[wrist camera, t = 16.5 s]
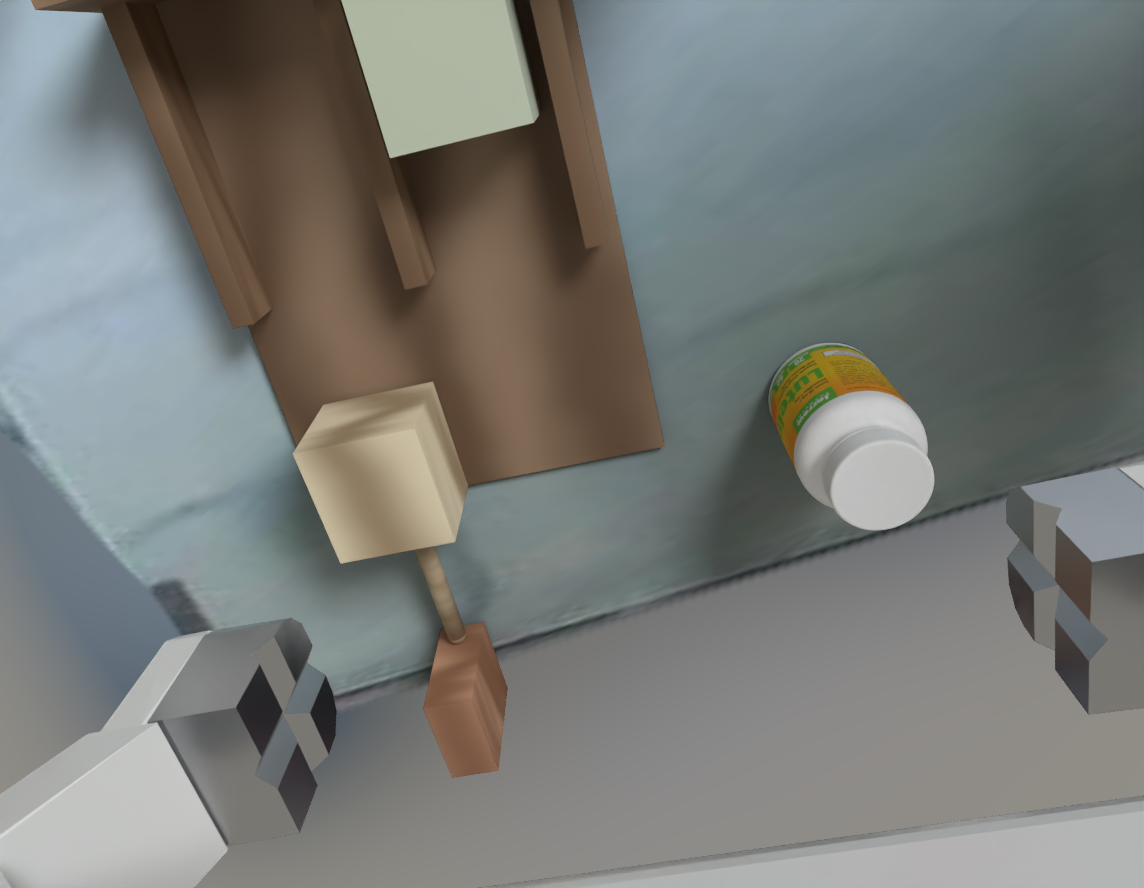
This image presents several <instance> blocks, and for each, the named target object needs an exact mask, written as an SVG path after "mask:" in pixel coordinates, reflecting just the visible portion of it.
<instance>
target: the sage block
mask: <svg viewBox="0 0 1144 888" xmlns="http://www.w3.org/2000/svg"><path fill="white" fill-rule="evenodd" d="M341 1H342V4H343V7H344V10H345V14H346V17H347V20H348V23H349V27H350V30H351V33H352V36H353V40H354V43H355V46H356V49H357V53H358V56H359V59H360V62H361V66H362V69H363V72H364V76H365V79H366V82H367V85H368V89H369V92H370V95H371V98H372V102H373V105H374V108H375V111H376V115H377V118H378V121H379V124H380V128H381V131H382V134H383V137H384V141H385V144H386V147H387V150H388V154H389V157H390V158H393V157H397V156H401V155H405V154H409V153H413V152H417V151H421V150H426V149H430V148H434V147H438V146H442V145H446V144H450V143H454V142H458V141H462V140H466V139H470V138H474V137H478V136H482V135H486V134H490V133H494V132H498V131H503V130H507V129H511V128H515V127H519V126H523V125H527V124H531V123H534V122H535V120H536V119H537V117H538V116H539V115H540V113H541V108H540V103H539V99H538V95H537V91H536V86H535V82H534V78H533V73H532V69H531V65H530V60H529V56H528V52H527V47H526V43H525V39H524V34H523V30H522V26H521V22H520V17H519V13H518V9H517V4H516V0H341Z"/></svg>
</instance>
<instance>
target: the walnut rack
mask: <svg viewBox="0 0 1144 888" xmlns="http://www.w3.org/2000/svg"><path fill="white" fill-rule="evenodd" d="M31 1H32V3H33V6H34V8H35V10H50V11H72V12H95V13H103V15H104V17H105V20H106V22H107V25H108V27H109V30H110V32H111V34H112V37H113V39H114V42H115V44H116V46H117V49H118V51H119V54H120V56H121V59H122V61H123V63H124V66H125V68H126V71H127V73H128V75H129V78H130V80H131V83H132V85H133V88H134V90H135V92H136V95H137V97H138V100H139V102H140V104H141V107H142V109H143V112H144V114H145V117H146V119H147V121H148V124H149V126H150V129H151V131H152V133H153V136H154V138H155V141H156V143H157V146H158V148H159V150H160V153H161V155H162V158H163V160H164V162H165V165H166V167H167V170H168V172H169V175H170V177H171V179H172V182H173V184H174V187H175V189H176V192H177V194H178V196H179V199H180V201H181V204H182V206H183V208H184V211H185V213H186V216H187V218H188V221H189V223H190V225H191V228H192V230H193V233H194V235H195V237H196V240H197V242H198V245H199V247H200V250H201V252H202V254H203V257H204V259H205V262H206V264H207V266H208V269H209V271H210V274H211V276H212V279H213V281H214V283H215V286H216V288H217V291H218V293H219V295H220V298H221V300H222V303H223V305H224V308H225V310H226V312H227V315H228V317H229V320H230V322H231V324H232V327H233V329H234V328H239V327H243V326H248V327H249V329H250V332H251V334H252V337H253V339H254V342H255V344H256V347H257V349H258V351H259V354H260V356H261V359H262V361H263V364H264V366H265V369H266V371H267V374H268V376H269V379H270V381H271V384H272V386H273V388H274V391H275V393H276V396H277V398H278V401H279V403H280V406H281V408H282V411H283V413H284V416H285V418H286V421H287V423H288V425H289V428H290V430H291V433H292V435H293V438H294V440H295V443H296V445H297V446H298V444H299V443H300V441H301V440H302V438H303V437H304V435H305V433H306V432H307V430H308V429H309V427H310V425H311V424H312V422H313V421H314V419H315V417H316V416H317V414H318V413H319V411H320V409H321V408H322V406H323V405H325V404H329V403H334V402H339V401H343V400H348V399H353V398H358V397H362V396H367V395H372V394H376V393H381V392H386V391H391V390H395V389H400V388H405V387H409V386H414V385H419V384H424V383H428V382H433V383H434V386H435V389H436V392H437V395H438V398H439V401H440V404H441V407H442V410H443V413H444V416H445V419H446V422H447V425H448V428H449V431H450V434H451V437H452V440H453V443H454V446H455V449H456V452H457V455H458V458H459V460H460V463H461V466H462V469H463V472H464V475H465V478H466V481H467V484H468V485H473V484H478V483H483V482H488V481H493V480H498V479H503V478H508V477H513V476H518V475H523V474H528V473H533V472H539V471H544V470H549V469H554V468H559V467H564V466H569V465H574V464H579V463H584V462H589V461H594V460H599V459H605V458H610V457H615V456H620V455H625V454H630V453H635V452H640V451H645V450H650V449H655V448H660V447H664V441H663V436H662V432H661V427H660V422H659V417H658V412H657V407H656V403H655V398H654V393H653V388H652V383H651V378H650V374H649V369H648V364H647V359H646V354H645V350H644V345H643V340H642V335H641V330H640V325H639V321H638V316H637V311H636V306H635V301H634V297H633V292H632V287H631V282H630V277H629V272H628V268H627V263H626V258H625V253H624V248H623V244H622V239H621V234H620V229H619V224H618V219H617V215H616V210H615V205H614V200H613V195H612V191H611V186H610V181H609V176H608V171H607V166H606V162H605V157H604V152H603V147H602V142H601V137H600V133H599V128H598V123H597V118H596V113H595V109H594V104H593V99H592V94H591V89H590V84H589V80H588V75H587V70H586V65H585V60H584V56H583V51H582V46H581V41H580V36H579V31H578V27H577V22H576V17H575V12H574V7H573V3H572V0H516V4H517V9H518V13H519V17H520V22H521V26H522V30H523V34H524V39H525V43H526V47H527V52H528V56H529V60H530V65H531V69H532V73H533V78H534V82H535V86H536V91H537V95H538V99H539V103H540V108H541V113H540V115H539V116H538V117H537V119H536V120H535V122H534V123H531V124H527V125H523V126H519V127H515V128H511V129H507V130H503V131H498V132H494V133H490V134H486V135H482V136H478V137H474V138H470V139H466V140H462V141H458V142H454V143H450V144H446V145H442V146H438V147H434V148H430V149H426V150H421V151H417V152H413V153H409V154H405V155H401V156H397V157H393V158H390V157H389V154H388V150H387V147H386V144H385V141H384V137H383V134H382V131H381V128H380V124H379V121H378V118H377V115H376V111H375V108H374V105H373V102H372V98H371V95H370V92H369V89H368V85H367V82H366V79H365V76H364V72H363V69H362V66H361V62H360V59H359V56H358V53H357V49H356V46H355V43H354V40H353V36H352V33H351V30H350V27H349V23H348V20H347V17H346V14H345V10H344V7H343V4H342V1H341V0H31Z"/></svg>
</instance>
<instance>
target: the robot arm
mask: <svg viewBox="0 0 1144 888" xmlns="http://www.w3.org/2000/svg"><path fill="white" fill-rule="evenodd" d="M1006 513H1007V524H1008V525H1009V527H1010V528H1011V529H1012V530H1013V531H1014V533H1015V534H1016V535H1017V536H1018V537H1019V539H1020V541H1019V542H1018V544H1017V545H1016V547H1015V548H1014V549H1013V551H1012V552H1011V554H1010V555H1009V556H1008V558H1007V559H1008V577H1009V586H1010V589H1011V594H1012V597H1013V601H1014V605H1015V609H1016V610H1017V612H1018V615H1019V617H1020V619H1021V621H1022V623H1023V625H1024V627H1025V628H1026V630H1027V631H1028V633H1029V634H1030V635H1031V637H1032V638H1033V640H1034V641H1035V642H1037V643H1039V644H1042V645H1044V646H1046V647H1048V648H1050V649H1053V650H1055V670H1056V671H1057V673H1058V674H1059V676H1060V677H1061V678H1062V680H1063V681H1064V682H1065V684H1066V685H1067V686H1068V688H1069V689H1070V690H1071V692H1072V693H1073V694H1074V696H1075V697H1076V699H1077V700H1078V701H1079V703H1080V704H1081V705H1082V707H1083V708H1084V709H1085V711H1086V712H1087V713H1088V714H1089V715H1090V714H1098V713H1105V712H1114V711H1123V710H1130V709H1138V708H1144V461H1139V462H1135V463H1130V464H1126V465H1121V466H1116V467H1112V468H1108V469H1104V470H1099V471H1094V472H1089V473H1084V474H1079V475H1075V476H1070V477H1065V478H1060V479H1055V480H1050V481H1045V482H1041V483H1036V484H1031V485H1026V486H1021V487H1017V488H1012V489H1010V490H1009V494H1008V498H1007V502H1006ZM311 649H312V644H311V642H310V640H309V638H308V636H307V634H306V632H305V629H304V627H303V625H302V624H301V623H299V622H298V621H296V620H294V619H292V618H287V619H281V620H274V621H268V622H262V623H256V624H250V625H243V626H237V627H231V628H225V629H218V630H215V631H204V632H199V633H194V634H189V635H184V636H179V637H176V638H173V639H171V640H168V641H166V642H165V643H164V645H163V646H162V647H161V649H160V650H159V651H158V653H157V654H156V656H155V657H154V658H153V660H152V661H151V663H150V664H149V665H148V667H147V668H146V670H145V671H144V672H143V674H142V675H141V676H140V678H139V679H138V680H137V682H136V683H135V685H134V686H133V688H132V689H131V690H130V692H129V693H128V694H127V696H126V697H125V698H124V700H123V701H122V703H121V704H120V705H119V707H118V708H117V710H116V711H115V712H114V714H113V715H112V717H111V718H110V719H109V721H108V722H107V724H106V725H105V726H104V728H103V729H102V730H101V732H96V733H90V734H87V735H86V736H84V737H83V738H81V739H80V740H79V741H77V742H75V743H74V744H73V745H71V746H70V747H68V748H67V749H65V750H64V751H63V752H61V753H60V754H58V755H57V756H55V757H54V758H52V759H51V760H49V761H48V762H46V763H45V764H44V765H42V766H41V767H39V768H38V769H36V770H35V771H33V772H32V773H31V774H29V775H28V776H26V777H25V778H23V779H22V780H20V781H19V782H18V783H16V784H15V785H13V786H12V787H10V788H9V789H7V790H6V791H4V792H3V793H2V794H0V888H194V887H195V886H196V885H197V884H198V883H199V882H200V881H201V880H202V878H203V877H204V876H205V875H206V874H207V873H208V872H209V871H210V870H211V868H212V867H213V866H214V865H215V864H216V863H217V862H218V861H219V860H220V858H221V857H222V856H223V855H224V854H225V853H226V852H227V851H228V848H227V846H231V845H236V844H242V843H248V842H253V841H258V840H264V839H269V838H275V837H281V836H286V835H292V834H297V833H300V831H301V828H302V825H303V822H304V820H305V818H306V815H307V812H308V810H309V807H310V804H311V801H312V799H313V796H314V794H315V791H316V788H317V783H316V781H315V778H314V776H313V774H312V772H311V771H312V770H313V769H315V768H316V767H317V766H318V764H320V763H321V762H322V761H323V760H324V759H325V758H326V757H327V756H328V755H329V753H330V750H331V747H332V745H333V742H334V739H335V736H336V715H337V710H336V706H335V701H334V696H333V692H332V689H331V687H330V685H329V682H328V680H327V677H326V675H324V674H323V673H321V672H320V671H318V670H317V669H315V668H314V667H313V666H311V665H310V664H308V663H307V661H308V658H309V655H310V652H311ZM481 888H1144V796H1137V797H1130V798H1122V799H1115V800H1108V801H1100V802H1093V803H1086V804H1078V805H1072V806H1064V807H1057V808H1050V809H1043V810H1035V811H1028V812H1021V813H1014V814H1006V815H999V816H992V817H984V818H977V819H970V820H963V821H956V822H948V823H941V824H934V825H926V826H920V827H912V828H906V829H898V830H890V831H883V832H877V833H869V834H862V835H854V836H847V837H840V838H832V839H825V840H818V841H811V842H804V843H797V844H789V845H782V846H775V847H767V848H760V849H753V850H746V851H739V852H732V853H725V854H717V855H710V856H703V857H696V858H689V859H682V860H675V861H668V862H661V863H654V864H647V865H639V866H632V867H625V868H618V869H611V870H603V871H596V872H589V873H582V874H574V875H567V876H560V877H553V878H546V879H538V880H531V881H524V882H517V883H510V884H503V885H495V886H488V887H481Z"/></svg>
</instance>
